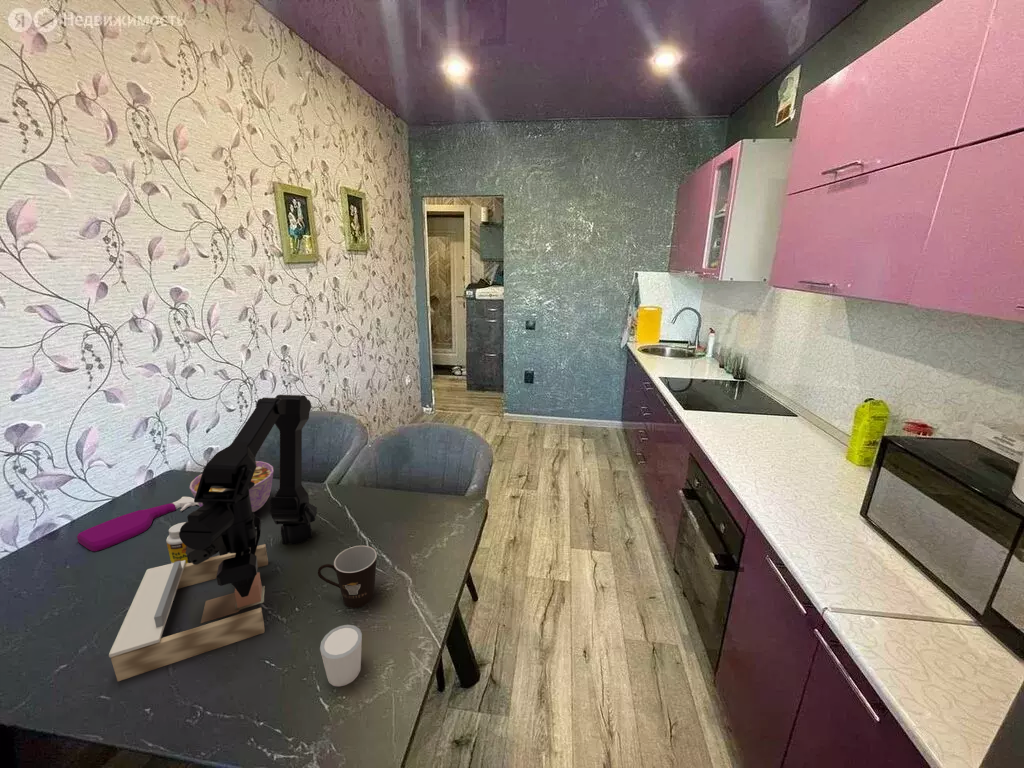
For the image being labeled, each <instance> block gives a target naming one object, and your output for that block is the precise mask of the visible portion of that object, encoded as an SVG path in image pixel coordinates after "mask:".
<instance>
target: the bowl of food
mask: <svg viewBox="0 0 1024 768" xmlns="http://www.w3.org/2000/svg"><path fill="white" fill-rule="evenodd" d="M201 476H202V473H200V474H199V475H197V476H195V478H194V479H193V480H192V481H191V482H190V483H189V484H190V485H189V487H188V488H189V490H190V492H191V494H192V495H193V497H194V498H195V496H196V493H197V489H198V486H199V483H200V479H201ZM273 477H274V466H273V465H271V464H270V463H269V462H265V461H262V460H261V461H260V460H259V461H258V460H256V469H255V471H254V474H253V477H252V479H251V482H254V483H255V485H254V486H253V487H252V488H251V489H249V494H250V500H251V507H252V512H254V513H255V512H257V511H258V510H260V509H261V508H262V507H264V505H265V503H266V502H267V501H268V499H269V497H270V495H271V491H272V485H273ZM224 490H225V489H219V488H210V490H209V492H223V491H224ZM198 504H199V505H198V506H199V508H200V507H201V506H203V503H198Z"/></svg>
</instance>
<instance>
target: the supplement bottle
mask: <svg viewBox="0 0 1024 768" xmlns="http://www.w3.org/2000/svg"><path fill="white" fill-rule="evenodd" d="M186 522H187V521H185V522H178V523H177V524H174V525H172V526H171V527H169V529H168V534H169V535H168V536H167V538H166V547H167V552H168V555H169V558H170V559H169V560H170V564H171V563H174V562H177V561H184V560H185V561H186V563H188V562H187V561H188V558H187V557H186V555H187V554H186V553H185V552H186V549H187V546H186V545H185V544H184V543H183V542H182V541H181V539H180V537H179V533H180V529H181V527H182V526H183V525H184V524H185V523H186ZM186 563H185V564H186Z"/></svg>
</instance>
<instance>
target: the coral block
mask: <svg viewBox="0 0 1024 768" xmlns="http://www.w3.org/2000/svg"><path fill="white" fill-rule="evenodd" d="M262 586H263V585H262V581H261V573H260V571H259V572H258V571H257V575H256V576H255V578H254V581H253V583H252V586H251V589H250V592H249V595H248V596H246V597H241V596H240V594H239V593H238V591H237V590H236V588H235V587H234V593H235V597H236V602H237V608H240V607H243V606H247V605H250V604H253V603H257V602H260V601H261V595H262Z"/></svg>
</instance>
